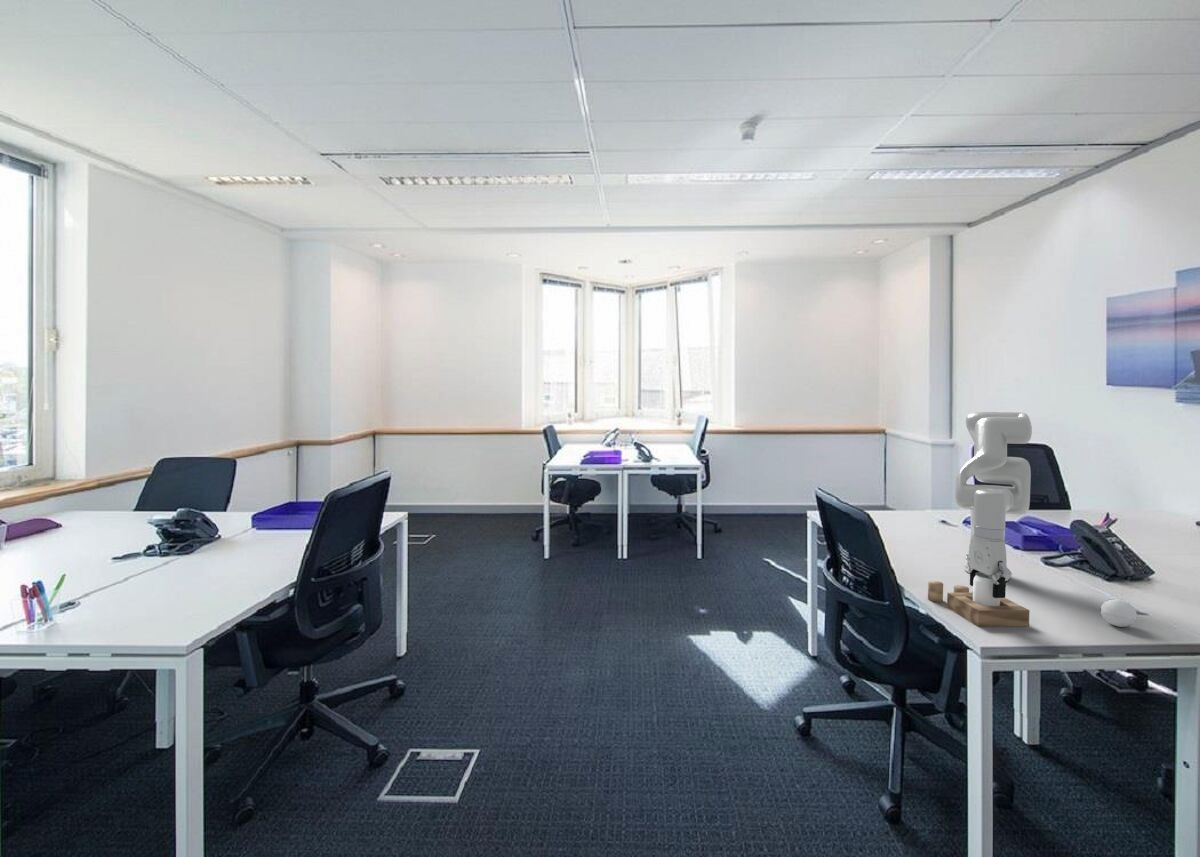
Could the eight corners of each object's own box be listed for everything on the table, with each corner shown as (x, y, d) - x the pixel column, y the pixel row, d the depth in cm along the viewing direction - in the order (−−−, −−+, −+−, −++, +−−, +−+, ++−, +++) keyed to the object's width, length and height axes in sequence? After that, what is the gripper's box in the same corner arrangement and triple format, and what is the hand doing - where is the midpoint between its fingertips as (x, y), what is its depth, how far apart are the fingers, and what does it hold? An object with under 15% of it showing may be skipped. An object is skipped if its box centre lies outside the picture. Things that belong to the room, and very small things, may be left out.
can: (969, 615, 161) (971, 575, 160) (975, 609, 166) (976, 570, 165) (996, 622, 156) (998, 580, 156) (1001, 615, 161) (1003, 575, 160)
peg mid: (925, 597, 176) (925, 580, 175) (937, 597, 176) (938, 580, 175) (932, 602, 172) (933, 585, 171) (945, 602, 172) (946, 585, 171)
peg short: (950, 597, 176) (951, 585, 175) (963, 597, 176) (963, 585, 175) (958, 602, 172) (959, 589, 171) (971, 602, 172) (972, 589, 171)
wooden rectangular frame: (947, 607, 168) (947, 592, 167) (993, 607, 168) (994, 592, 167) (977, 626, 154) (978, 610, 154) (1028, 626, 154) (1029, 610, 153)
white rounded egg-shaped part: (1117, 620, 157) (1118, 594, 157) (1144, 631, 150) (1145, 604, 149) (1083, 620, 157) (1084, 595, 156) (1108, 632, 149) (1109, 605, 149)
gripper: (956, 526, 168) (955, 581, 169) (996, 540, 151) (994, 602, 152) (981, 525, 168) (979, 581, 169) (1024, 540, 151) (1022, 602, 152)
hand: (986, 591), depth 160 cm, fingers open, 9 cm apart
